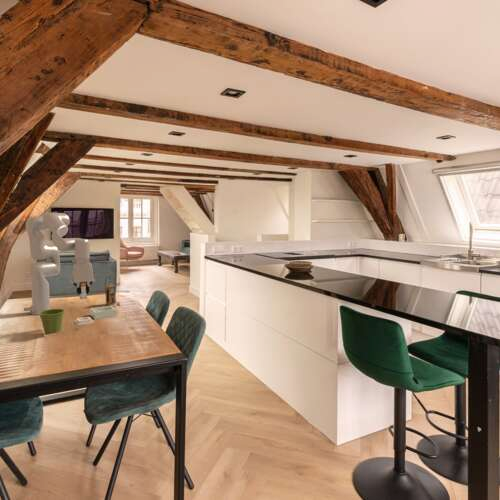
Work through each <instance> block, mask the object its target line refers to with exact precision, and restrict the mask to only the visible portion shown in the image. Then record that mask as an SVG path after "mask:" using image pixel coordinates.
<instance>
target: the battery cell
mask: <svg viewBox="0 0 500 500" xmlns="http://www.w3.org/2000/svg"><path fill="white" fill-rule="evenodd" d="M79 286H80V295H79V299H80V300H86V299H87V296H88V294H87V282H80V284H79Z"/></svg>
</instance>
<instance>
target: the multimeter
mask: <svg viewBox="0 0 500 500" xmlns="http://www.w3.org/2000/svg"><path fill="white" fill-rule="evenodd" d="M112 277H113V281H114V283H113V284H112V282H109V285H107V286H106V285H105V288H104V293H105V295H104V296H105V304H106V306H112V307H113V308H115V305H114V304H117V305H116V307H117V306H120V303H121V301H118V302H117V298H116V293H117V289H116V283H115V280H116V279H115V276H114V275H113V274H112V275H110V277H109V276H106V277H105V281H104V282H105V283H106V281H107V278H109V279H111V278H112Z"/></svg>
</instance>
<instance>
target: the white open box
mask: <svg viewBox="0 0 500 500" xmlns="http://www.w3.org/2000/svg"><path fill="white" fill-rule="evenodd" d="M112 306H113V305H107V306H105V305H103V306H97V307H90V308H89V312H90V316H91V317H92V318H93V319H94V320H100V319H108V318H114V317H117V309H116V308H115V307H112Z"/></svg>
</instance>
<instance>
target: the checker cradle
mask: <svg viewBox="0 0 500 500" xmlns="http://www.w3.org/2000/svg"><path fill="white" fill-rule="evenodd" d="M73 322H74V323H75V325H77V326H79V325H85V324H93V323H95V321H94V320H93V319H92V318H91V317H90V316H85V317H78V318H76V320H74V321H73Z"/></svg>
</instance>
